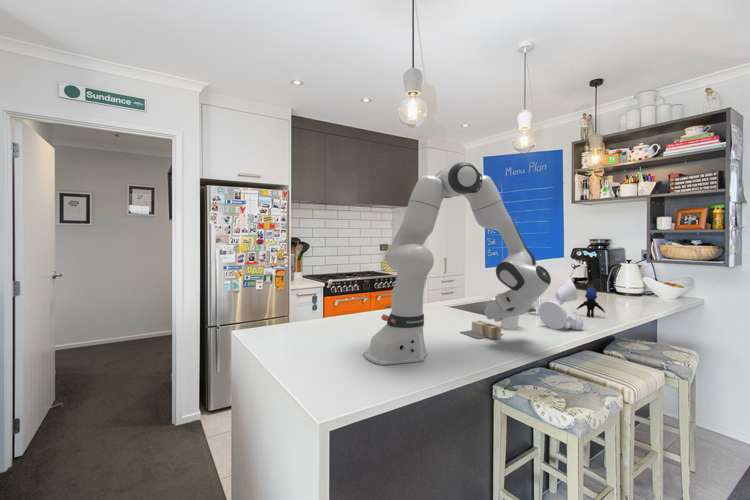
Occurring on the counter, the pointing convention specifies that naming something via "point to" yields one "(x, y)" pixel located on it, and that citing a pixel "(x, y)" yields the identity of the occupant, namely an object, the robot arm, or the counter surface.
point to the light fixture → (561, 309)
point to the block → (486, 329)
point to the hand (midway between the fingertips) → (497, 320)
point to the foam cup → (510, 322)
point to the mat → (473, 334)
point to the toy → (591, 302)
